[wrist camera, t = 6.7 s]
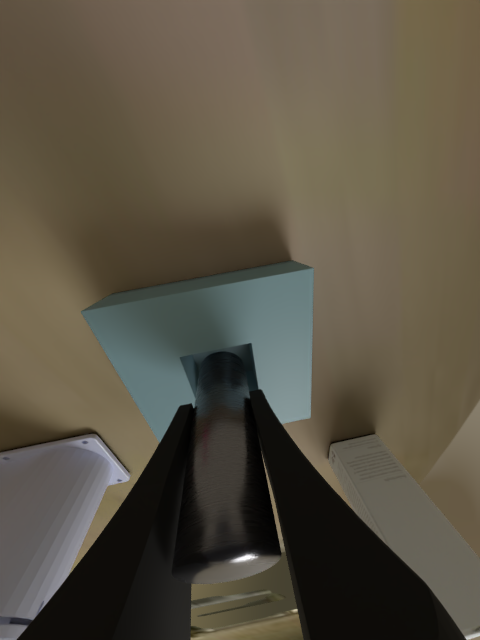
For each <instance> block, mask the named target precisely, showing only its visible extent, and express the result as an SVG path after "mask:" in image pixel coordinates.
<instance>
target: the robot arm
mask: <svg viewBox="0 0 480 640" xmlns="http://www.w3.org/2000/svg"><path fill="white" fill-rule="evenodd" d="M249 395H250V400H251V405H252V410H253V415H254V419H255V423H256V428H257V433H258V438H259V443H260V448H261V451H262V455H263V459H264V462H265V466H266V469H267V473H268V477H269V480H270V484H271V487H272V491H273V495H274V499H275V503H276V508H277V513H278V518H279V522H280V527H281V532H282V537H283V541H284V546H285V551H286V556H287V561H288V565H289V570H290V575H291V580H292V585H293V590H294V594H295V599H296V604H297V609H298V614H299V619H300V623H301V628H302V633H303V638H304V640H466V638H465V636H464V635H463V634H462V632H461V631H460V629H459V628H458V626H457V625H456V623H455V622H454V620H453V619H452V617H451V616H450V615H449V613H448V612H447V610H446V609H445V608H444V606H443V605H442V603H441V602H440V601H439V599H438V598H437V597H436V596H435V594H434V593H433V592H432V590H431V589H430V588H429V586H428V585H427V584H426V583H425V582H424V581H423V580H422V579H421V578H420V577H419V576H418V575H417V574H416V573H415V572H414V571H413V570H412V569H411V568H410V567H409V566H408V565H407V564H406V563H405V562H404V561H403V560H402V559H401V558H400V557H399V556H398V555H397V554H395V553H394V552H393V551H392V550H391V549H390V548H389V547H388V546H387V545H386V544H385V543H384V542H383V541H382V540H381V539H380V538H379V537H378V536H377V535H376V534H375V533H374V532H373V531H372V530H371V529H370V528H369V527H368V526H367V525H366V524H365V523H364V522H363V521H362V519H361V518H360V517H359V516H358V515H357V514H356V513H355V512H354V511H353V510H352V509H351V508H350V507H349V506H348V505H347V504H346V502H345V501H344V500H343V499H342V498H341V497H340V496H339V495H338V494H337V493H336V492H335V491H334V490H333V488H332V487H331V486H330V485H329V484H328V483H327V482H326V481H325V479H324V478H323V477H322V476H321V475H320V474H319V472H318V471H317V470H316V469H315V468H314V467H313V465H312V464H311V463H310V462H309V460H308V459H307V458H306V457H305V456H304V454H303V453H302V452H301V450H300V449H299V448H298V447H297V445H296V444H295V442H294V441H293V440H292V438H291V437H290V436H289V434H288V433H287V431H286V430H285V429H284V427H283V426H282V424H281V423H280V421H279V420H278V418H277V417H276V415H275V413H274V412H273V410H272V408H271V407H270V405H269V403H268V401H267V399H266V397H265V395H264V393H263V390H261V389H259V390H254V391H249ZM193 413H194V408H193V405H192V403H190V404H185V405H180V406H179V408H178V410H177V412H176V413H175V415H174V417H173V419H172V421H171V423H170V425H169V427H168V429H167V431H166V433H165V434H164V436H163V438H162V440H161V442H160V443H159V445H158V447H157V449H156V450H155V452H154V454H153V456H152V457H151V459H150V461H149V462H148V464H147V466H146V467H145V469H144V471H143V472H142V474H141V475H140V477H139V479H138V480H137V482H136V483H135V485H134V487H133V488H132V490H131V491H130V493H129V494H128V496H127V497H126V499H125V500H124V502H123V503H122V504H121V506H120V507H119V509H118V510H117V512H116V513H115V515H114V516H113V517H112V519H111V520H110V522H109V523H108V524H107V526H106V527H105V528H104V530H103V531H102V533H101V534H100V535H99V537H98V538H97V540H96V541H95V542H94V544H93V545H92V546H91V548H90V549H89V550H88V552H87V553H86V554H85V555H84V557H83V558H82V559H81V561H80V562H79V563H78V564H77V566H76V567H75V568H74V570H73V571H72V572H71V573H70V570H71V568H72V566H73V563H74V561H75V559H76V557H77V554H78V552H79V550H80V547H81V545H82V543H83V541H84V538H85V536H86V534H87V531H88V529H89V527H90V525H91V522H92V520H93V518H94V515H95V513H96V511H97V509H98V506H99V504H100V502H101V499H102V497H103V495H104V493H105V490H106V488H107V486H108V485H113V484H117V483H122V482H126V481H128V480H129V479H130V474H129V473H128V471H127V470H126V469H125V468H124V467H123V465H122V464H121V463H120V462H119V461H118V459H117V458H116V457H115V456H114V455H113V453H112V452H111V451H110V450H109V449H108V447H107V446H106V445H105V444H104V443H103V441H102V440H101V439H100V438H99V437H98V436H97V435H96V434H88V435H83V436H78V437H73V438H68V439H64V440H59V441H54V442H49V443H44V444H39V445H35V446H30V447H25V448H20V449H15V450H10V451H6V452H1V453H0V640H190V629H191V583H185V582H181V581H178V580H176V579H175V578H174V577H173V576H172V574H171V572H172V565H173V558H174V550H175V543H176V536H177V529H178V521H179V514H180V507H181V500H182V493H183V485H184V478H185V471H186V464H187V456H188V449H189V442H190V435H191V427H192V420H193ZM69 573H70V575H69ZM68 575H69V576H68Z"/></svg>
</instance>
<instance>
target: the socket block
mask: <svg viewBox="0 0 480 640" xmlns="http://www.w3.org/2000/svg"><path fill="white" fill-rule="evenodd" d="M313 282H314V268H312V267H309V266H307V265H304V264H301V263H298V262H296V261H293V260H292V261H287V262H281V263H276V264H270V265H265V266H259V267H254V268H249V269H243V270H238V271H232V272H227V273H222V274H216V275H211V276H205V277H200V278H195V279H189V280H184V281H178V282H173V283H167V284H162V285H157V286H151V287H146V288H140V289H135V290H130V291H124V292H119V293H113V294H111V295H109V296H107V297H105V298H104V299H102V300H100V301H98V302H97V303H95V304H93V305H91V306H90V307H88V308H86V309H84V310H83V311H81V313H82V315H83V316H84V318H85V320H86V321H87V323H88V325H89V326H90V328H91V330H92V331H93V333H94V335H95V336H96V338H97V340H98V341H99V343H100V345H101V346H102V348H103V350H104V351H105V353H106V355H107V356H108V358H109V360H110V361H111V363H112V364H113V366H114V368H115V369H116V371H117V373H118V374H119V376H120V378H121V379H122V381H123V383H124V384H125V386H126V388H127V389H128V391H129V393H130V394H131V396H132V398H133V399H134V401H135V403H136V404H137V406H138V408H139V409H140V411H141V413H142V414H143V416H144V418H145V419H146V421H147V423H148V424H149V426H150V428H151V429H152V431H153V433H154V434H155V436H156V438H157V439H158V441H159V443H160V442H161V440H162V438H163V436H164V434H165V433H166V431H167V429H168V427H169V425H170V423H171V421H172V419H173V417H174V415H175V413H176V412H177V410H178V408H179V406H180V405H185V404H190V403H192V405H193V408H194V406H195V399H196V391H197V384H198V377H199V370H200V365H201V363H202V361H203V360H204V359H205V358H206V357H207V356H208V355H210V354H212V353H215V352H220V351H226V352H231V353H234V354H236V355H237V356H239V357H240V358H241V359H242V361H243V363H244V367H245V372H246V377H247V382H248V387H249V391H254V390H259V389H261V390H263V393H264V395H265V397H266V399H267V401H268V403H269V405H270V407H271V408H272V410H273V412H274V413H275V415H276V417H277V418H278V420H279V421H280V423H281V424H283V423H288V422H293V421H298V420H302V419H307V418H311V375H312V328H313Z"/></svg>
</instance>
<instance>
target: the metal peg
mask: <svg viewBox="0 0 480 640" xmlns="http://www.w3.org/2000/svg"><path fill="white" fill-rule="evenodd" d="M280 558H281V549H280V544H279V539H278V534H277V529H276V524H275V519H274V514H273V509H272V504H271V499H270V494H269V488H268V483H267V478H266V473H265V468H264V463H263V458H262V453H261V448H260V443H259V438H258V433H257V428H256V423H255V419H254V415H253V410H252V405H251V400H250V395H249V387H248V382H247V377H246V372H245V367H244V363H243V361H242V359H241V358H240V357H239V356H237V355H236V354H234V353H231V352H226V351H220V352H215V353H212V354H210V355H208V356H207V357H206V358H205V359H204V360H203V361H202V363H201V365H200V370H199V377H198V384H197V391H196V399H195V406H194V413H193V420H192V427H191V435H190V442H189V449H188V456H187V464H186V471H185V478H184V485H183V493H182V500H181V507H180V514H179V521H178V529H177V536H176V543H175V550H174V558H173V565H172V572H171V574H172V576H173V577H174V578H175V579H176V580H178V581H181V582H185V583H192V584H212V583H221V582H228V581H233V580H237V579H242V578H245V577H249V576H252V575H254V574H257V573H260V572H262V571H264V570H266V569H268V568H270V567H271V566H273V565H274V564H276V563H277V562H278V561H279V559H280Z"/></svg>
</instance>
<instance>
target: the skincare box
mask: <svg viewBox="0 0 480 640" xmlns="http://www.w3.org/2000/svg"><path fill="white" fill-rule="evenodd" d="M328 460H329V464H330V465H331V467H332V469H333V471H334V473H335V475H336V477H337V479H338V481H339V483H340V485H341V487H342V489H343V491H344V493H345V495H346V496H347V498H348V500H349V502H350V504H351V506H352V508H353V510H354V512H355V513H356V514H357V515H358V516H359V517H360V518H361V519H362V521H363V522H364V523H365V524H366V525H367V526H368V527H369V528H370V529H371V530H372V531H373V532H374V533H375V534H376V535H377V536H378V537H379V538H380V539H381V540H382V541H383V542H384V543H385V544H386V545H387V546H388V547H389V548H390V549H391V550H392V551H393V552H394V553H395V554H397V555H398V556H399V557H400V558H401V559H402V560H403V561H404V562H405V563H406V564H407V565H408V566H409V567H410V568H411V569H412V570H413V571H414V572H415V573H416V574H417V575H418V576H419V577H420V578H421V579H422V580H423V581H424V582H425V583H426V584H427V585H428V586H429V588H430V589H431V590H432V592H433V593H434V594H435V596H436V597H437V598H438V599H439V601H440V602H441V603H442V605H443V606H444V608H445V609H446V610H447V612H448V613H449V615H450V616H451V617H452V619H453V620H454V622H455V623H456V625H457V626H458V628H459V629H460V631H461V632H462V634H463V635H464V636H465V638H466V640H468V639H471V638H475V637H478V636H480V558H479V557H478V556H477V554H476V553H475V552H474V551H473V549H472V548H471V547H470V546H469V545H468V544H467V542H466V541H465V540H464V539H463V537H462V536H461V535H460V534H459V533H458V531H457V530H456V529H455V528H454V527H453V525H452V524H451V523H450V522H449V521H448V519H447V518H446V517H445V516H444V515H443V514H442V512H441V511H440V510H439V509H438V508H437V506H436V505H435V504H434V503H433V501H432V500H431V499H430V498H429V497H428V496H427V494H426V493H425V492H424V491H423V490H422V488H421V487H420V486H419V485H418V483H417V482H416V481H415V480H414V479H413V477H412V476H411V475H410V474H409V473H408V471H407V470H406V469H405V468H404V467H403V465H402V464H401V463H400V462H399V461H398V459H397V458H396V457H395V456H394V455H393V453H392V452H391V451H390V450H389V449H388V447H387V446H386V445H385V444H384V442H383V441H382V440H381V439H380V438H379V436H378V435H377V434H373V435H368V436H364V437H360V438H355V439H351V440H346V441H342V442H337V443H333V444H331V446H330V451H329V459H328Z"/></svg>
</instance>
